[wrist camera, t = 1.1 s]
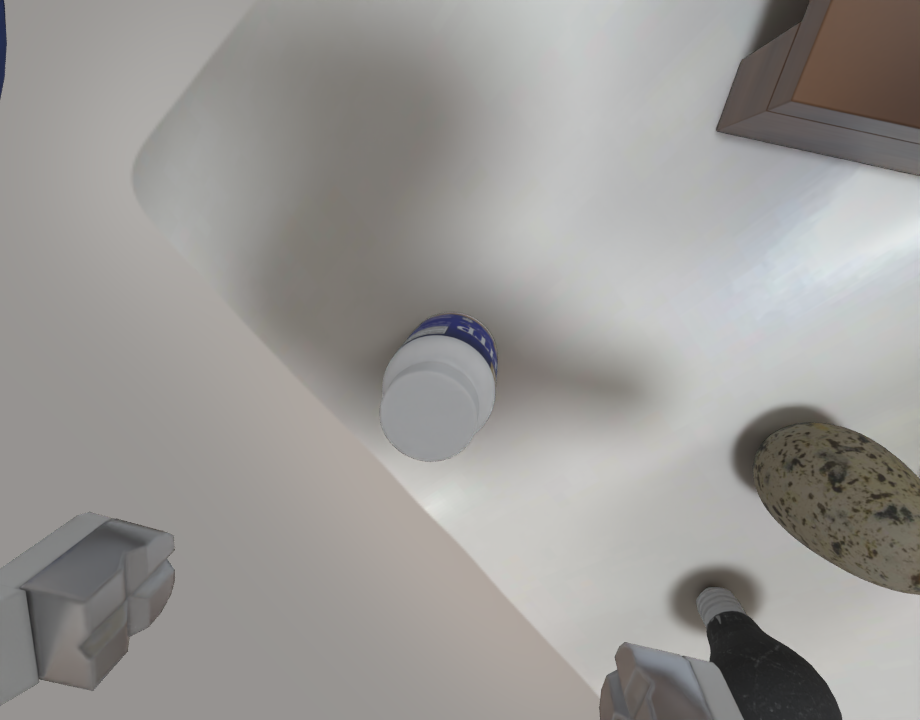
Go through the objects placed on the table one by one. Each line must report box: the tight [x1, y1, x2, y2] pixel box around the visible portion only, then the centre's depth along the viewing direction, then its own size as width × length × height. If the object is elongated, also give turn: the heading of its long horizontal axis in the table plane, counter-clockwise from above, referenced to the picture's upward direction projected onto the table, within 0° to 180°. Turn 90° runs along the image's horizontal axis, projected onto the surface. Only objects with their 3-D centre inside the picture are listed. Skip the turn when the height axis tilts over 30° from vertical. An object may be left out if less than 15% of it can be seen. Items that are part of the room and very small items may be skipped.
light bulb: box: [696, 587, 842, 720], centre depth 25 cm, size 6×6×10 cm
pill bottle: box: [380, 312, 498, 462], centre depth 22 cm, size 5×5×9 cm
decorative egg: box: [753, 423, 920, 595], centre depth 21 cm, size 6×6×10 cm
